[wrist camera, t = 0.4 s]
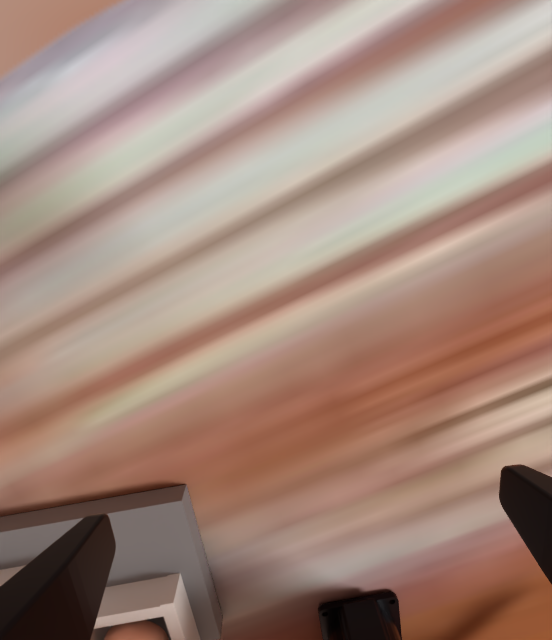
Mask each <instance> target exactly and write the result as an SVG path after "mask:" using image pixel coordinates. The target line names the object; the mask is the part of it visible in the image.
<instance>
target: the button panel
mask: <svg viewBox="0 0 552 640" xmlns="http://www.w3.org/2000/svg"><path fill="white" fill-rule="evenodd" d="M100 513H105V514H107V515H108V516H109V518H110V522H111V526H112V530H113V533H114V537H115V542H116V551H115V556H114V559H113V563H112V567H111V570H110V574H109V577H108V581H107V584H106V588H105V591H104V595H103V598H102V602H101V605H100V609H99V612H98V616H97V619H96V623H95V626H94V630H93V633H92V636H91V639H90V640H104V638H105V635H106V633H107V632H108V630H109V629H110V628H111V627H113V626H114V625H118V624H124V623H129V622H135V621H141V620H147V621H150V622H153V623H155V624H157V625H158V626H160V627H161V628H162V629H163V630H164V631H165V632H166V634H167V636H168V639H169V640H217V639H221V629H222V618H223V617H222V613H221V609H220V606H219V602H218V598H217V595H216V591H215V587H214V584H213V580H212V576H211V573H210V569H209V565H208V562H207V558H206V554H205V551H204V547H203V543H202V540H201V536H200V532H199V529H198V525H197V521H196V518H195V514H194V510H193V507H192V503H191V499H190V496H189V492H188V488H187V485H180V486H175V487H169V488H163V489H157V490H152V491H146V492H140V493H134V494H129V495H123V496H117V497H111V498H106V499H100V500H94V501H89V502H83V503H77V504H71V505H66V506H60V507H54V508H48V509H43V510H37V511H31V512H25V513H20V514H14V515H8V516H3V517H0V586H1V585H3V584H4V583H5V582H6V581H7V580H9V579H10V578H11V577H12V576H14V575H15V574H16V573H17V572H18V571H20V570H21V569H22V568H23V567H24V566H26V565H27V564H28V563H29V562H31V561H32V560H33V559H34V558H35V557H37V556H38V555H39V554H40V553H42V552H43V551H44V550H45V549H46V548H48V547H49V546H50V545H51V544H53V543H54V542H55V541H56V540H57V539H59V538H60V537H61V536H62V535H64V534H65V533H66V532H67V531H68V530H70V529H71V528H72V527H73V526H74V525H76V524H77V523H78V522H79V521H81V520H82V519H83V518H84V517H86V516H88V515H92V514H100Z"/></svg>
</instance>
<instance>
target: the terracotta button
mask: <svg viewBox="0 0 552 640" xmlns="http://www.w3.org/2000/svg"><path fill="white" fill-rule="evenodd" d="M104 640H169V639H168V636H167V634H166V632H165V631H164V630H163V629H162V628H161V627H160V626H158V625H157V624H155V623H153V622H150V621H147V620H141V621H135V622H129V623H124V624H118V625H114V626H113V627H111V628H110V629H109V630H108V632H107V633H106V635H105V638H104Z"/></svg>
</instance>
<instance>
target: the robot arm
mask: <svg viewBox="0 0 552 640" xmlns="http://www.w3.org/2000/svg"><path fill="white" fill-rule="evenodd" d="M499 499H500V503H501V505H502V507H503V509H504V511H505V512H506V514H507V515H508V517H509V519H510V520H511V522H512V523H513V525H514V527H515V528H516V530H517V531H518V533H519V534H520V536H521V538H522V539H523V541H524V542H525V544H526V546H527V547H528V549H529V550H530V552H531V553H532V555H533V557H534V558H535V560H536V561H537V563H538V565H539V566H540V568H541V569H542V571H543V572H544V574H545V575H546V577H547V578H548V580H549V581H550V583H551V584H552V477H550V476H548V475H545V474H543V473H541V472H538V471H536V470H534V469H532V468H529V467H527V466H524V465H510V466H505V467H503V468H502V470H501V478H500V490H499ZM115 551H116V542H115V537H114V533H113V530H112V526H111V522H110V518H109V516H108V515H107V514H105V513H100V514H92V515H88V516H86V517H84V518H83V519H82V520H81V521H79V522H78V523H77V524H76V525H74V526H73V527H72V528H71V529H70V530H68V531H67V532H66V533H65V534H64V535H62V536H61V537H60V538H59V539H57V540H56V541H55V542H54V543H53V544H51V545H50V546H49V547H48V548H46V549H45V550H44V551H43V552H42V553H40V554H39V555H38V556H37V557H35V558H34V559H33V560H32V561H31V562H29V563H28V564H27V565H26V566H24V567H23V568H22V569H21V570H20V571H18V572H17V573H16V574H15V575H14V576H12V577H11V578H10V579H9V580H7V581H6V582H5V583H4V584H3V585H1V586H0V640H90V639H91V636H92V633H93V630H94V626H95V623H96V619H97V616H98V612H99V609H100V605H101V602H102V598H103V595H104V591H105V588H106V584H107V581H108V577H109V574H110V570H111V567H112V563H113V559H114V556H115ZM318 612H319V618H320V624H321V630H322V636H323V640H402V637H401V625H400V614H399V603H398V599H397V596H396V594H395V593H393V592H388V593H383V594H377V595H371V596H366V597H360V598H355V599H349V600H344V601H338V602H332V603H327V604H322V605H320V606H319V608H318Z"/></svg>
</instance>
